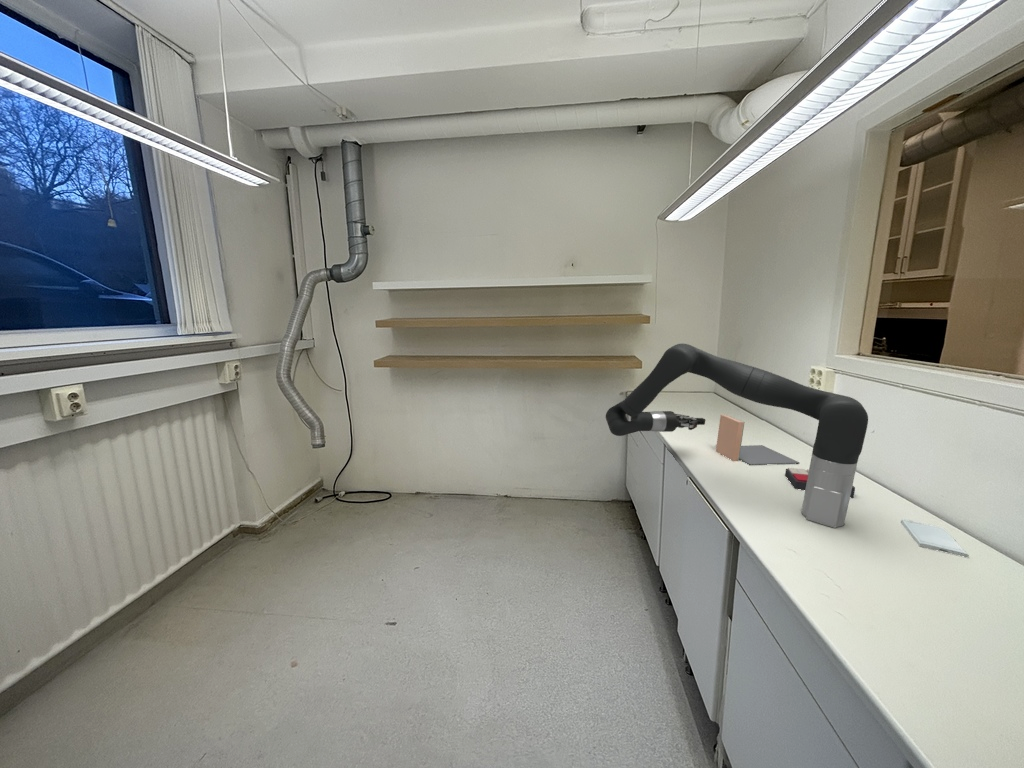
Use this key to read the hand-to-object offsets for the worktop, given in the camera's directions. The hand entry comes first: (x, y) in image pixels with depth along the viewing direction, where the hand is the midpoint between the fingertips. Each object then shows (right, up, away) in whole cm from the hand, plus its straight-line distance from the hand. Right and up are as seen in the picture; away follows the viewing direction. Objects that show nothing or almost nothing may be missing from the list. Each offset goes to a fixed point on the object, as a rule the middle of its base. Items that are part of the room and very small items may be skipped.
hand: (703, 421), depth 143 cm
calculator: (+27, -19, -20) cm, 38 cm away
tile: (+11, -14, +4) cm, 18 cm away
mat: (+23, -14, +6) cm, 27 cm away
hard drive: (+33, -25, -48) cm, 63 cm away
